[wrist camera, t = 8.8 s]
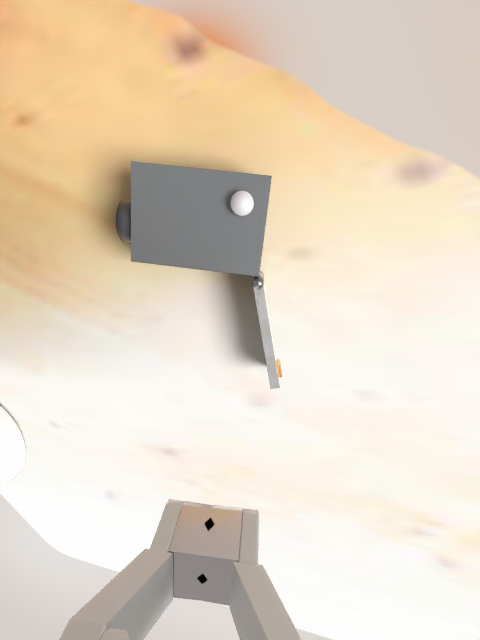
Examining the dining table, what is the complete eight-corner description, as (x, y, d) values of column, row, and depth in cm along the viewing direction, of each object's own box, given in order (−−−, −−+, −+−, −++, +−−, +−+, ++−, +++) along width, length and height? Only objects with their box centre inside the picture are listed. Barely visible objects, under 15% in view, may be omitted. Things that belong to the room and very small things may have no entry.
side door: (280, 365, 29) (283, 387, 25) (269, 367, 29) (270, 388, 25) (265, 269, 26) (265, 276, 22) (253, 271, 27) (251, 278, 23)
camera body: (136, 255, 27) (107, 260, 22) (136, 171, 25) (104, 157, 20) (259, 270, 27) (258, 278, 22) (270, 185, 25) (271, 174, 20)
